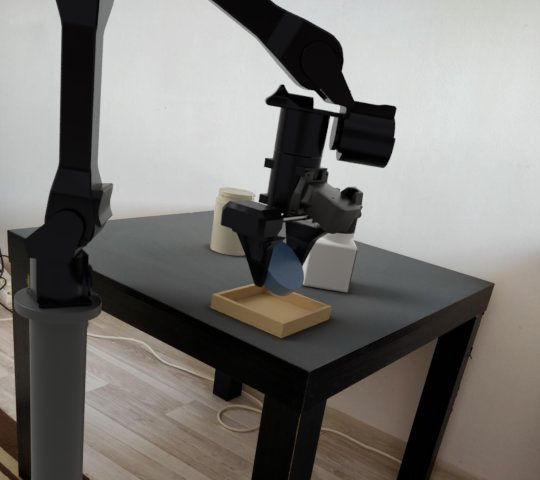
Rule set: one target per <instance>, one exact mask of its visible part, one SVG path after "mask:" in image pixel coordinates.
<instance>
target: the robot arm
mask: <svg viewBox="0 0 540 480" xmlns="http://www.w3.org/2000/svg"><path fill="white" fill-rule="evenodd" d="M207 1H208V2H210V3H211V4H212V5H213V6H214V7H216V8H217V9H218V10H220V11H221V12H222V13H223V14H224V15H225V16H227V17H228V18H230V19H231V20H232V21H233V22H234V23H236V25H238V26H240V27H241V28H242V30H244V31H246V33H248V34H249V35H250V36H252V37H253V39H255V40H256V41H257V42H258V43H259V44H260V45H261V46H262V48H264V50H265V51H266V52H267V54H268V55H269V56H270V57H271V59H272V60H273V61H274V62H275V63H276V65H277V66H278V67H279V68H280V69H281V70H282V71H283V72H284V74H285V75H286V76H287V77H288V78H289V79H290V80H291V82H292V83H293V84H294V85H295V86H297V87H298V88H299V89H300V88H301V89H302V90H305V91H311V92H315V94H317V96H319V98H320V99H321V100H322V101H323V102H324V103H326V104H330V105H336V106H339V111H333V110H327V109H322V108H316V107H315V99H314V97H313V96H309V95H302V94H298V93H293V92H292V93H291V92H289V91H288V90H287V88H286V85H285V84H283V83H281V84H279V85H278V87H277V88H276V90H275V91H274V92H273V93H271V94H270V95H269V96H267V97H265V99H264V104H266V105H267V106H269V107H270V106H271V107H275V108H280V109H279V117H278V122H277V128H276V135H275V139H274V140H275V141H274V146H273V147H274V148H273V154H272V157H265V158H264V163H263V168H266V169H270V172H269V180H268V184H267V191H266V193H259V195H258V202H257V201H255V200H254V201H251V200H236V201H229V202H228V203H227V204H225V205H224V206H223V207H222V214H221V222H220V224H221V225H222V226H225V227H228V228H231V229H232V231H233V232H236V233H237V235H238V238H239V240H240V243H241V245H242V248H243V250H244V253H245V255H244V256H245V258H246V262H247V265H248V269H249V272H250V275H251V279H252V281H253V284H254V285H255V286H258V287H263V285H264V283H265V280H266V276H267V273H268V269H269V265H270V261H271V257H272V253H273V249H274V247H275V246H277V245H278V244H279V243H281V242H282V241H283V242H284V241H285V243H286V244H287V245H288V246H289V247H290V248H291V249H292V250H293V251H294V252H295V254H296V255H297V257H298V259H299V261H300V263H301V265H302V266H303V264H304V262H305V261H306V259H307V257H308V255H309V253H310V251H311V249H312V248H313V246H314V244H315V243H316V241H317V240H318V239H319V238H321V237H323V236H324V235H326V234H328V233H330V234H336V233H337V232H340V231H343V232H347V230H348V229H349V227H350V225H351V224H352V222H353V220H354V219H357V218H358V219H360V218H361V217H362V215H363V214H362V210H363V208H364V206H363V200H364V192H363V191H362V190H361V189H359V188H358V187H356V186H347V187H345V188H344V189H343V190H341V189H340V187H334V186H332V185H331V184H330V183H328V179H329V171H328V167H326V166H325V167H324V166H322V162H323V157H324V151H325V148H326V141H327V135H328V130H329V125H330V120H331V118H333V120H332V125H331V129H330V135H329V142H328V148H329V151H335V158H336V161H339V162H344V163H350V164H358V165H361V166H367V167H373V168H380V169H385V168H386V167H387V166H388V164H389V162H390V160H391V158H392V155H393V152H394V149H395V148H394V147H395V144H396V137H395V135H396V134H395V132H396V118H395V117H396V114H397V110H398V109H397V106H396V105H391V104H386V103H379V104H375V103H369V102H364V101H358V100H355V99H354V97H353V95H352V90H351V89H350V87H349V85H348V83H347V80H346V78H345V75H344V73H343V68H344V62H345V58H344V57H345V56H344V49H343V46H342V44H341V42H340V41H339V39H337V37H336V36H335V35H334V34H332V33H331V32H330V31H328V30H326V29H324V28H322V27H320V26H319V25H317V24H315V23H313V22H311V21H309V20H308V19H306V18H304V17H302V16H299V15H297V14H296V13H293V12H291V11H289V10H287V9H285V8H283V7H281V6H280V5H278V4H276V3H275V2H274V1H272V0H207ZM114 3H115V0H55V4H56V7H57V11H58V15H59V18H60V19H59V20H60V25H61V26H60V27H61V31H60V33H61V34H60V36H61V37H60V41H61V42H60V84H59V85H60V86H59V88H60V89H59V90H60V91H59V138H58V139H59V140H58V142H59V143H58V165H57V169H56V172H55V175H54V176H53V177H54V178H53V180H52V184H51V186H50V189H49V193H48V198H47V203H46V207H45V213H44V219H43V222H44V223H43V224H41V226H39V227H38V228H37V229H35V230H34V231H33V232H32V233H31V234H29V235H28V236H26V237H25V239H23V241H22V242H23V245H24V247H25V250H26V253H27V256H28V257H29V284H30V285H29V286H27V287H28V288H27V287H26V288H27V293H28V294H29V296H30V297H31V298H32V300H33V301H34V303H35V304H36V305H37V307H38V308H40V309H47V308H64V307H80V306H91V305H92V301H91V300H90V299H89V298H88V297H90V296H91V295H92V291H93V266H92V264H90V263H89V261H90V260H89V257H90V254H89V253H87V252H86V251H85V250H84V248H85V247H87V246H88V244H89V243H91V242H92V240H94V239H95V237H97V235H98V234H100V232H101V231H102V230H103V229H104V227H105V226H106V224H107V221H109V220H110V219H111V218H112V216H113V211H112V207H111V199H112V194H113V192H114V191H113V190H114V183H113V182H103V181H102V177H101V173H100V170H99V145H100V143H99V142H100V122H101V120H100V119H101V103H102V101H101V100H102V96H101V95H102V79H103V78H102V77H103V58H104V57H103V53H104V36H105V30H106V28H107V25H108V22H109V19H110V16H111V13H112V9H113V6H114ZM358 219H357V220H358ZM284 224H285V225H284ZM283 226H285V228H284V229H285V236H282V235H279V234H280V233H281V231H282V229H283Z"/></svg>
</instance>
